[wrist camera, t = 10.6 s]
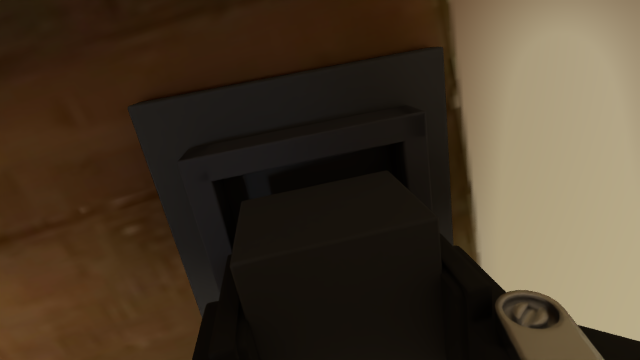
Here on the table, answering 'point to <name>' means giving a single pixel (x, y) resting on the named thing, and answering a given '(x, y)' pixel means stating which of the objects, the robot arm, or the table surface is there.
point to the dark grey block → (341, 272)
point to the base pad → (292, 146)
